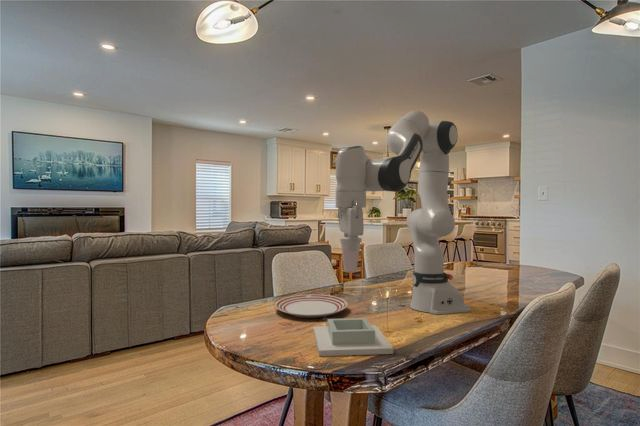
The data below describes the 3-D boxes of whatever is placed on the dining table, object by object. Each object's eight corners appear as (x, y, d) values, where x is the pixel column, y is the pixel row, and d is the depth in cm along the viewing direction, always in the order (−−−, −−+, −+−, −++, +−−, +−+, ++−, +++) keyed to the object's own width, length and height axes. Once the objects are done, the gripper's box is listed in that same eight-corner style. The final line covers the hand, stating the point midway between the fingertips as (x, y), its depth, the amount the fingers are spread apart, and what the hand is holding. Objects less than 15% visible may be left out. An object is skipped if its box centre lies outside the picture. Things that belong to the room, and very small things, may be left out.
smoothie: (337, 269, 112) (338, 222, 112) (359, 269, 113) (359, 222, 113) (340, 273, 106) (341, 223, 106) (363, 273, 106) (364, 223, 106)
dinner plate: (341, 324, 126) (341, 314, 126) (264, 319, 132) (264, 309, 132) (351, 304, 153) (351, 296, 153) (287, 300, 159) (287, 292, 159)
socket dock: (375, 329, 120) (375, 314, 120) (393, 353, 100) (393, 335, 100) (313, 331, 119) (313, 315, 118) (319, 356, 99) (319, 337, 99)
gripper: (369, 201, 99) (369, 253, 99) (355, 202, 119) (354, 245, 119) (345, 201, 98) (345, 253, 99) (335, 202, 119) (335, 245, 119)
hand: (350, 249), depth 109 cm, fingers closed on smoothie, 6 cm apart
